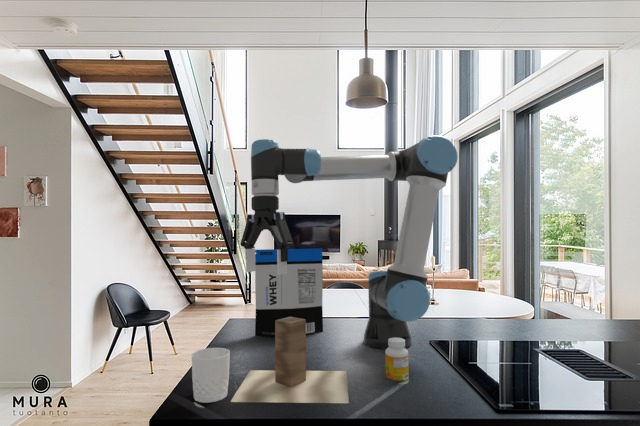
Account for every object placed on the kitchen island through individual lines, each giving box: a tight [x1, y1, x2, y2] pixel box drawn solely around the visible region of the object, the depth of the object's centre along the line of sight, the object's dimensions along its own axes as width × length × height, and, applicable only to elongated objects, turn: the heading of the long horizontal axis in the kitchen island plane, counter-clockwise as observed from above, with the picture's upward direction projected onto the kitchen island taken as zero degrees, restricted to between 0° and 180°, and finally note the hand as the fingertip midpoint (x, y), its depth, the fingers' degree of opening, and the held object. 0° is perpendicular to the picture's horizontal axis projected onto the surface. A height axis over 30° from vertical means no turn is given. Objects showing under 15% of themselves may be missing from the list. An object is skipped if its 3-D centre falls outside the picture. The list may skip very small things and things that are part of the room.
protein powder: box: [254, 248, 324, 339], centre depth 135 cm, size 10×24×30 cm, turn 103°
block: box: [274, 317, 307, 387], centre depth 88 cm, size 5×5×14 cm
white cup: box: [191, 347, 231, 409], centre depth 80 cm, size 8×8×10 cm
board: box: [230, 369, 350, 404], centre depth 85 cm, size 24×18×1 cm
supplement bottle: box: [384, 338, 410, 386], centre depth 90 cm, size 5×5×10 cm
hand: (265, 273), depth 104 cm, fingers open, 13 cm apart
